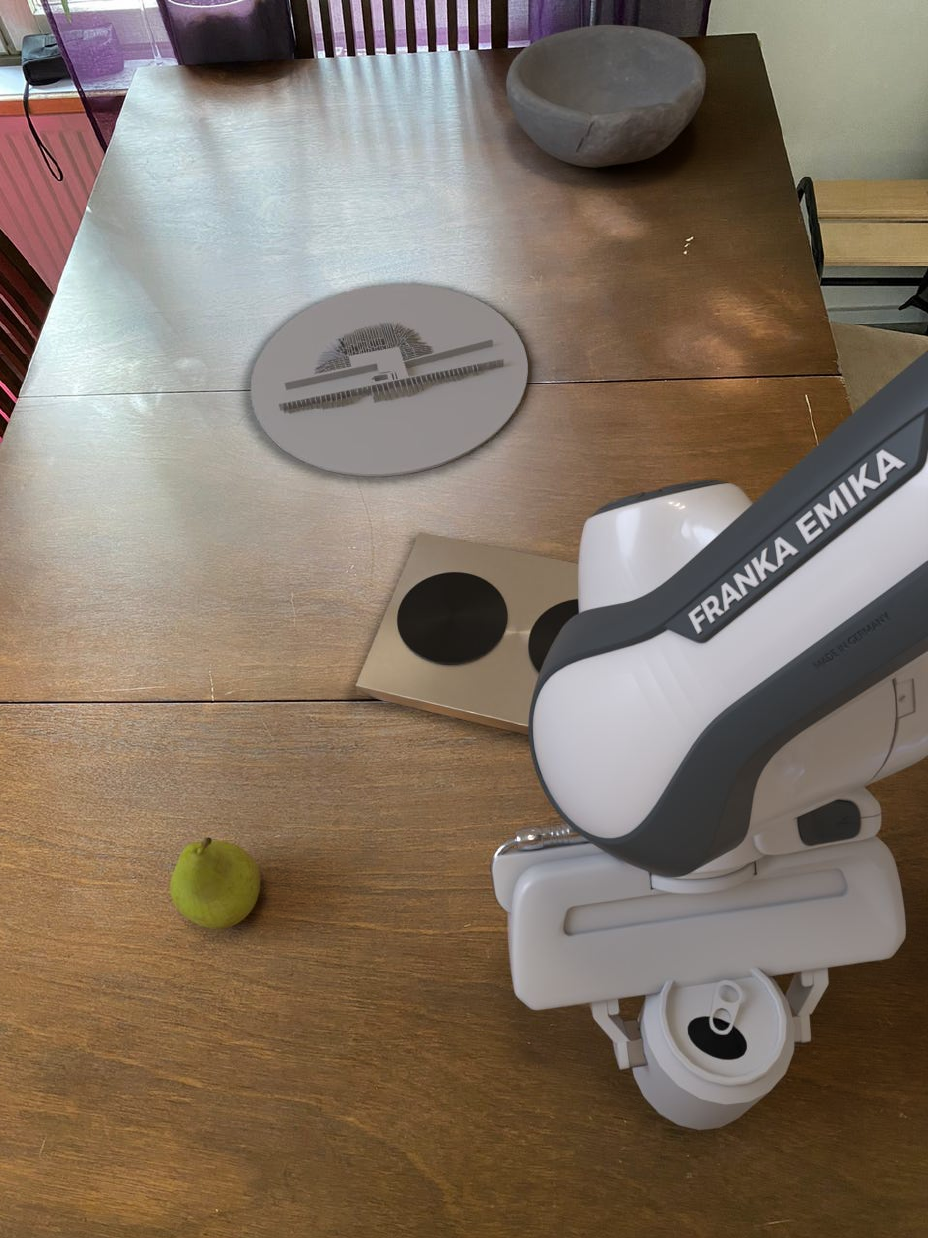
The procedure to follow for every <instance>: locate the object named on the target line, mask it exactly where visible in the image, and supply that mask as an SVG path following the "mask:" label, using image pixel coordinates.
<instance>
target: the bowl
mask: <svg viewBox="0 0 928 1238" xmlns="http://www.w3.org/2000/svg"><path fill="white" fill-rule="evenodd" d="M505 82H506V83H505V84H506V85H505V88H506V95H507V100H508V103H509V107H510V109H511V112H512V114H513V116H514V118H515V119H516V121H517V123H518V124H519V126H520V127H521V128H522V130H523V131H524V132H525V134H526V135H527V136H528V137H529V138H530V139H531V140H532V141H533V143H534V144H536V145H537V146H538V147H539V148H540V149H541V150H542V151H543V152H545V153H546V154H548V155H549V156H552V157H553V158H556V159H557V160H560V161H562V162H564V163H568V164H570V165H574V166H578V167H582V168H583V167H584V168H592V169H593V168H594V169H595V168H596V169H597V168H605V167H609V166H616V165H624V164H631V163H636V162H640V161H645V160H648V159H650V158H652V157H654V156H656V155H658V154H660V153H661V152H662V151H664V150H665V149H666V148H668V147H669V146H670V145H672V143H673V142H674V141H675V140H676V139H677V138H678V136H679V135H680V134H681V133H682V131H684V130H685V129H686V127H687V126H688V125H689V123H691V122H692V119H693V118H694V116H695V115H696V113H697V111H698V109H699V107H700V106H701V103H702V101H703V98H704V95H705V91H706V86H707V85H706V83H707V72H706V66H705V63H704V62H703V59H702V58H701V56H700V54H698V52H697V51H696V50H695V49H694V48H693V47H692V46H691V45H690V44H687V43H686V42H685V41H683V40H682V39H679V38H678V37H676V36H673V35H671V34H668V33H666V32H662V31H660V30H655V29H649V28H646V27H640V26H637V25H636V26H635V25H619V24H599V25H588V26H583V27H577V28H572V29H569V30H564V31H561V32H556V33H553V34H550V35H547V36H544V37H542V38H539V39H538V40H536V41H534V42H531V43H530V44H529V45H527V46H526V47H524V48H523V49H522V50H521V51H520V53H518V54H517V55H516V57H515V58H514V59H513V60H512V62H511V64H510V65H509V69H508V72H507V75H506V81H505Z"/></svg>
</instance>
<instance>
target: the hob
mask: <svg viewBox="0 0 928 1238" xmlns="http://www.w3.org/2000/svg"><path fill="white" fill-rule="evenodd" d="M578 564H579V562H573V561H567V560H562V559H558V558H552V557H548V556H542V555H537V554H532V553H527V552H522V551H517V550H512V549H507V548H503V547H497V546H492V545H487V544H483V543H477V542H472V541H467V540H462V539H457V538H452V537H447V536H442V535H437V534H431V533H426V532H421V531H419V532H418V534H417V537H416V539H415V542H414V544H413V547H412V549H411V551H410V553H409V556H408V558H407V561H406V563H405V565H404V568H403V570H402V572H401V575H400V578H399V580H398V582H397V583H396V587H395V590H394V591H393V594H392V597H391V599H390V600H389V601H390V602H389V604H388V606H387V609H386V611H385V613H384V615H383V618H382V620H381V623H380V625H379V627H378V630H377V632H376V635H375V638H374V639H373V642H372V645H371V647H370V650H369V651H368V654H367V655H366V659H365V661H364V663H363V666H362V668H361V671H360V673H359V676H358V678H357V681H356V683H355V688H356V692H357V695H358V696H361V697H362V696H363V697H366V698H371V699H375V700H379V701H383V702H387V703H391V704H394V705H395V704H396V705H400V706H404V707H408V708H412V709H417V710H421V711H425V712H429V713H433V714H438V715H442V716H445V717H449V718H454V719H457V720H461V721H462V720H463V721H467V722H470V723H476V724H479V725H483V726H487V727H492V728H496V729H500V730H504V731H508V732H513V733H517V734H520V735H521V734H522V735H525V736H529V731H528V723H529V712H530V706H531V701H532V696H533V693H534V689H535V685H536V682H537V679H538V676H539V673H540V670H541V668H542V665H543V663H544V660H545V658H546V656H547V654H548V652H549V650H550V648H551V646H552V644H553V642H554V640H555V639H556V637H557V635H558V634H559V632H560V630H561V629H562V627H563V626H564V625H565V623H566V622H567V621H569V620H570V619H571V618H572V617H573V616H575V615H577V614H578V613H579V603H578Z"/></svg>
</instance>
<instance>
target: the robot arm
mask: <svg viewBox="0 0 928 1238" xmlns="http://www.w3.org/2000/svg"><path fill="white" fill-rule="evenodd" d="M578 603H579V613H578V614H577V615H575V616H573V617H572V618H571V619H570V620H569V621H567V622H566V623H565V625H564V626H563V627H562V629H561V630H560V632H559V634H558V635H557V637H556V639H555V640H554V642H553V644H552V646H551V648H550V650H549V652H548V654H547V656H546V658H545V660H544V663H543V665H542V668H541V670H540V673H539V676H538V679H537V682H536V685H535V689H534V693H533V696H532V701H531V706H530V712H529V723H528V731H529V735H528V740H529V741H528V743H529V750H530V755H531V759H532V764H533V767H534V770H535V773H536V776H537V778H538V782H539V783H540V786H541V788H542V790H543V792H544V794H545V796H546V798H547V800H548V801H549V803H550V804H551V806H552V807H553V809H554V810H555V811H556V813H557V814H558V816H560V818H561V819H562V820H563V821H564V822H562V823H560V824H559V823H557V824H555V825H550V826H548V825H547V826H540V825H535V826H528V827H527V826H526V827H523V828H520V829H518V830H515V832H514V837H510V838H509V839H506V840H505V841H504V842H502V843H501V844H500V845H499V846H498V847H497V848H496V850H495V851H494V853H493V854H492V857H491V859H490V864H489V870H490V877H491V886H492V893H493V897H494V899H495V901H496V903H497V904H498V906H499V907H500V908H501V909H502V910H503V911H505V912H506V913H507V943H508V945H507V946H508V947H507V948H508V958H509V959H508V960H509V966H510V973H511V974H510V975H511V982H512V986H513V992H514V994H515V997H517V998H518V999H519V1001H521V1002H522V1003H523V1004H524V1005H526V1006H527V1007H528V1008H529V1009H530V1010H532V1011H544V1010H551V1009H557V1008H558V1009H559V1008H565V1007H571V1006H579V1005H585V1004H588V1005H589V1008H590V1012H591V1015H592V1018H593V1019H594V1021H595V1022H596V1023H597V1024H598V1026H599V1027H600V1028H601V1029H602V1030H603V1031H604V1033H605V1034H606V1035H607V1036H608V1037H609V1038H610V1040H611V1041H612V1045H613V1051H614V1055H615V1059H616V1062H617V1066H618V1068H619V1070H620V1071H622V1070H627V1069H632V1068H635V1067H641V1066H647V1058H646V1056H645V1055H644V1043H643V1037H642V1034H641V1031H640V1030H639V1029H640V1025H639V1023H638V1019H631V1020H623V1019H622V1018H621V1017H620V1016H619V1014H620V1006H619V1000H620V999H625V998H626V999H627V998H632V997H639V996H640V997H641V996H646V995H647V994H653V993H660V992H661V991H662V989H663V987H664V985H665V983H666V982H667V981H669V980H674V981H675V983H674V985H673V988H672V989H676V988H682V987H689V986H696V985H703V984H710V983H716V982H720V981H722V980H729V981H730V980H737V979H743V978H750V977H753V975H752V973H751V972H750V971H749V970H750V968H758V969H760V970H761V971H762V972H763V973H764V974H765V975H767V976H771V977H774V976H782V975H787V974H788V975H789V974H794V975H793V977H792V979H791V981H790V983H789V986H788V987H787V989H786V992H785V994H784V996H785V998H786V999H787V1001H788V1003H789V1007H790V1010H791V1014H792V1018H793V1021H794V1025H795V1037H794V1045H795V1044H800V1043H801V1044H803V1043H809V1042H811V1040H812V1032H811V1018H810V1015H813V1012H814V1011H815V1009H816V1008H817V1005H818V1003H819V1002H820V1000H821V998H822V997H823V995H824V994H825V991H826V989H827V988H828V986H829V984H830V981H829V980H830V979H829V969H830V968H836V967H843V966H848V965H849V966H850V965H855V964H863V963H869V962H877V961H883V960H889V959H891V958H892V957H893V956H894V955H895V954H896V953H897V951H898V950H899V949H900V948H901V946H902V944H903V943H904V941H905V939H906V934H907V924H906V923H907V922H906V913H905V912H906V911H905V904H904V898H903V897H904V896H903V891H902V886H901V880H900V876H899V871H898V867H897V864H896V860H895V857H894V855H893V853H892V851H891V850H890V848H889V847H888V845H887V844H886V843H885V842H884V841H883V840H882V839H880V838H879V837H878V836H877V835H878V833H879V831H880V829H881V827H882V809H881V805H880V802H879V801H878V800H877V799H876V797H875V796H874V795H873V794H872V793H871V792H870V791H869V790H868V789H867V788H866V787H868V786H870V785H872V784H874V783H876V782H878V781H881V780H883V779H885V778H887V777H890V776H892V775H895V773H899V772H901V771H903V770H904V769H906V768H908V767H910V766H911V767H912V766H914V765H915V764H916V763H919V762H920V761H922V760H923V759H924V758H926V757H928V349H927V350H926V351H925V352H924V353H922V354H921V355H920V356H919V357H917V358H916V359H914V360H913V361H912V362H911V363H910V364H908V366H907V367H905V368H904V369H903V370H902V371H900V372H899V373H898V374H897V375H896V376H895V377H893V378H892V379H891V380H890V381H888V382H887V383H886V384H885V385H884V386H882V388H880V389H879V390H878V391H877V392H876V393H874V394H873V395H872V396H871V397H870V398H869V399H868V400H867V401H865V402H864V403H863V404H862V405H861V406H860V407H859V408H857V409H856V410H855V411H854V412H853V413H852V414H850V416H849V417H848V418H846V419H845V420H844V421H843V422H841V424H839V425H838V426H837V427H836V428H834V430H833V431H831V432H830V434H828V435H827V436H826V437H825V438H824V439H822V441H821V442H819V443H818V444H817V445H816V446H815V447H814V448H813V449H812V450H811V451H809V452H808V453H807V454H806V455H805V456H804V457H803V458H802V459H801V460H800V461H798V462H797V463H796V464H795V465H794V466H792V468H790V469H789V470H788V471H787V472H786V473H785V474H784V475H782V477H781V478H780V479H778V480H777V481H776V482H775V483H774V484H773V485H772V486H771V487H770V488H769V489H768V490H766V491H765V492H764V493H763V494H762V495H761V496H760V497H758V498H757V500H755V501H754V502H752V501H751V499H750V498H749V497H748V495H747V494H746V492H744V490H743V489H741V487H739V486H738V485H737V484H735V483H732V482H730V481H725V480H724V481H722V480H718V479H700V480H693V481H686V482H681V483H676V484H672V485H667V486H663V487H660V488H658V489H654V490H650V491H646V492H645V491H642V492H638V493H634V494H631V495H630V494H629V495H627V496H624V497H621V498H618V499H616V500H613V501H611V502H608V503H606V504H604V505H602V506H601V507H599V508H598V509H596V510H595V512H594V513H593V514H591V515H590V516H589V517H588V518H587V519H586V521H585V522H584V525H583V530H582V533H581V537H580V544H579V553H578ZM515 846H516V848H513V847H515Z"/></svg>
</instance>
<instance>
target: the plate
mask: <svg viewBox="0 0 928 1238" xmlns="http://www.w3.org/2000/svg"><path fill="white" fill-rule="evenodd" d="M528 375H529V362H528V357H527V353H526V349H525V346H524V343H523V341H522V340H521V338H520V336H519V334H518V332H517V331H516V329H515V328H514V327H513V326H512V324H511V323H510V322H509V321H508V320H507V319H506V318H505V317H504V316H503V315H502V314H501V313H499V312H498V311H497V310H495V309H494V308H492V307H491V306H490V305H487V304H486V303H485V302H482V301H480V300H478V299H476V298H474V297H471V296H469V295H467V294H464V293H461V292H459V291H456V290H452V289H448V288H444V287H439V286H432V285H425V284H416V283H415V284H412V283H393V284H392V283H391V284H381V285H374V286H367V287H364V288H359V289H354V290H351V291H347V292H343V293H340V294H338V295H334V296H332V297H329V298H327V299H325V300H322V301H320V302H317V303H316V304H314V305H312V306H310V307H309V308H307V309H305V310H303V311H302V312H300V313H299V314H297V315H296V316H294V317H293V318H292V319H290V320H289V321H288V322H287V323H286V324H285V325H284V326H282V327H281V328H280V329H279V330H278V331H277V332H276V333H275V334H274V335H273V336H272V337H271V339H270V340H269V341H268V342H267V343H266V344H265V346H264V348H263V349H262V351H261V353H260V354H259V356H258V358H257V359H256V361H255V365H254V368H253V371H252V375H251V377H250V378H251V379H250V399H251V403H252V407H253V411H254V414H255V417H256V420H257V421H258V423H259V425H260V426H261V428H262V429H263V431H264V432H265V434H266V435H267V436H268V437H269V438H270V439H271V440H272V441H273V442H274V444H275V445H276V446H278V447H279V448H280V449H281V450H282V451H284V452H286V453H287V454H288V455H290V456H292V457H294V458H296V459H297V460H300V461H301V462H304V463H306V464H308V465H311V466H312V467H315V468H318V469H321V470H325V471H327V472H331V473H332V472H333V473H338V474H342V475H348V476H354V477H355V476H356V477H373V478H374V477H375V478H376V477H379V478H380V477H381V478H382V477H383V478H385V477H394V476H403V475H409V474H416V473H420V472H423V471H427V470H432V469H435V468H437V467H441V466H444V465H446V464H449V463H451V462H453V461H456V460H458V459H460V458H462V457H464V456H466V455H468V454H470V453H471V452H473V451H474V450H476V449H478V448H479V447H481V446H482V445H484V444H485V443H487V442H488V441H489V440H490V439H492V438H493V437H494V436H495V435H496V434H497V433H499V432H500V430H501V429H502V428H503V427H504V426H505V425H506V424H507V423H508V422H509V421H510V419H511V418H512V416H513V415H514V414H515V412H516V411H517V409H518V407H519V406H520V404H521V402H522V399H523V398H524V397H523V396H524V394H525V391H526V387H527V384H528Z"/></svg>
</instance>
